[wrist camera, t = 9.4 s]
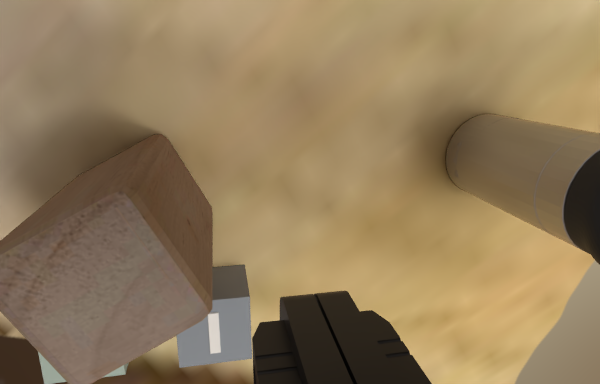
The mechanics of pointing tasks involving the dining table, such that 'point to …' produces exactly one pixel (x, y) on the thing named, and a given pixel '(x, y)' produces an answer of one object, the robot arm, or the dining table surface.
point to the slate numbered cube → (221, 323)
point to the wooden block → (111, 263)
